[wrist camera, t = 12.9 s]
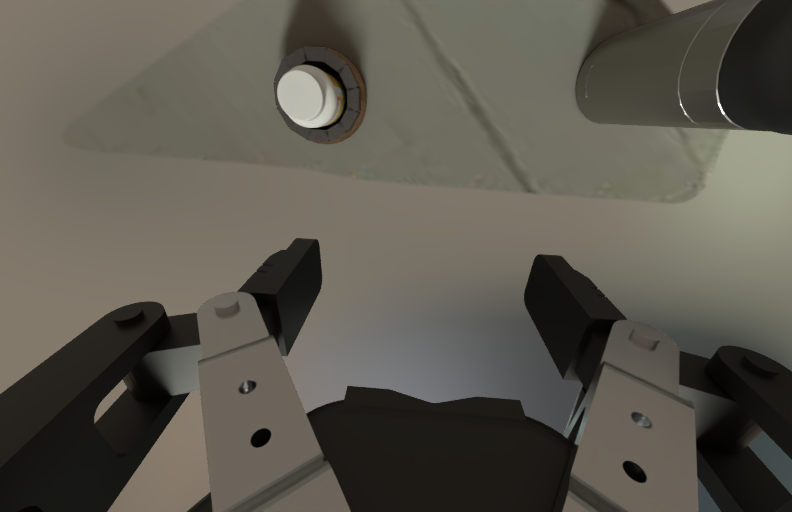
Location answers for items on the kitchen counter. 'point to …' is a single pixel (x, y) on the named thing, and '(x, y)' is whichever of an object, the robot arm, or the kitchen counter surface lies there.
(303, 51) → the collar mount
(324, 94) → the supplement bottle
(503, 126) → the kitchen counter surface
